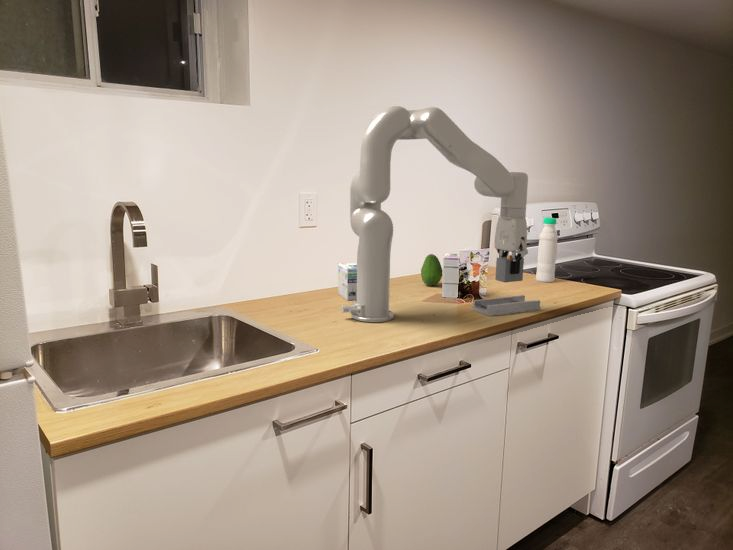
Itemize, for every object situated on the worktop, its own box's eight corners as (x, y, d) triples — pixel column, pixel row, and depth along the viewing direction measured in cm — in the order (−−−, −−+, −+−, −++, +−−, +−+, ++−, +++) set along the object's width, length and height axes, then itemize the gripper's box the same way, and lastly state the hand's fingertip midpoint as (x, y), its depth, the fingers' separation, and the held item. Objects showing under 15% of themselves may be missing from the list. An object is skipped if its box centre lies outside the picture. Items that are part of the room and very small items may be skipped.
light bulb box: (366, 299, 186) (366, 267, 183) (346, 301, 183) (347, 268, 181) (355, 292, 195) (356, 262, 193) (337, 293, 193) (337, 263, 191)
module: (504, 282, 171) (506, 257, 169) (495, 279, 174) (496, 255, 173) (522, 280, 174) (524, 255, 172) (513, 278, 177) (514, 253, 176)
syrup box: (458, 298, 189) (460, 256, 186) (441, 297, 190) (443, 255, 188) (459, 295, 195) (461, 253, 192) (442, 293, 196) (444, 253, 193)
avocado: (417, 286, 207) (419, 254, 204) (424, 282, 214) (425, 251, 212) (438, 288, 204) (440, 256, 201) (444, 284, 211) (445, 253, 209)
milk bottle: (556, 282, 218) (562, 218, 214) (538, 282, 218) (543, 218, 214) (551, 279, 225) (556, 217, 220) (533, 278, 225) (538, 216, 221)
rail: (489, 316, 167) (490, 306, 167) (471, 309, 175) (472, 300, 175) (540, 310, 176) (541, 300, 176) (521, 303, 184) (521, 294, 183)
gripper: (485, 211, 176) (482, 268, 179) (522, 216, 161) (518, 278, 164) (504, 210, 179) (501, 266, 183) (542, 215, 164) (537, 276, 168)
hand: (509, 271), depth 173 cm, fingers closed on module, 4 cm apart
